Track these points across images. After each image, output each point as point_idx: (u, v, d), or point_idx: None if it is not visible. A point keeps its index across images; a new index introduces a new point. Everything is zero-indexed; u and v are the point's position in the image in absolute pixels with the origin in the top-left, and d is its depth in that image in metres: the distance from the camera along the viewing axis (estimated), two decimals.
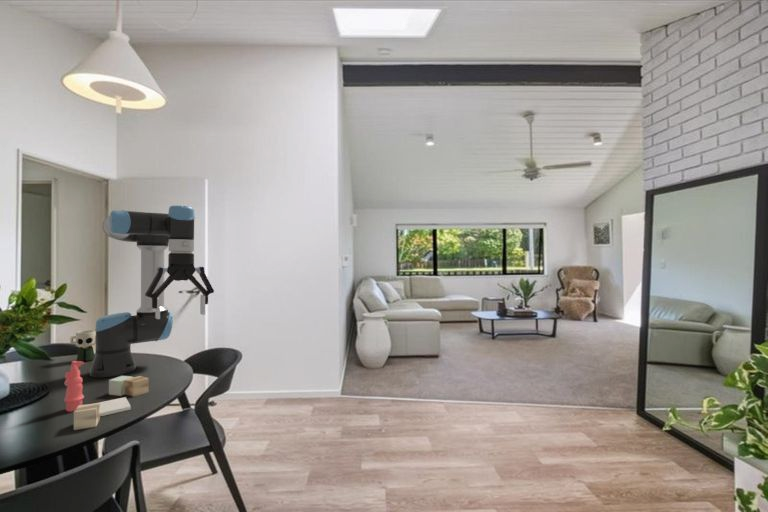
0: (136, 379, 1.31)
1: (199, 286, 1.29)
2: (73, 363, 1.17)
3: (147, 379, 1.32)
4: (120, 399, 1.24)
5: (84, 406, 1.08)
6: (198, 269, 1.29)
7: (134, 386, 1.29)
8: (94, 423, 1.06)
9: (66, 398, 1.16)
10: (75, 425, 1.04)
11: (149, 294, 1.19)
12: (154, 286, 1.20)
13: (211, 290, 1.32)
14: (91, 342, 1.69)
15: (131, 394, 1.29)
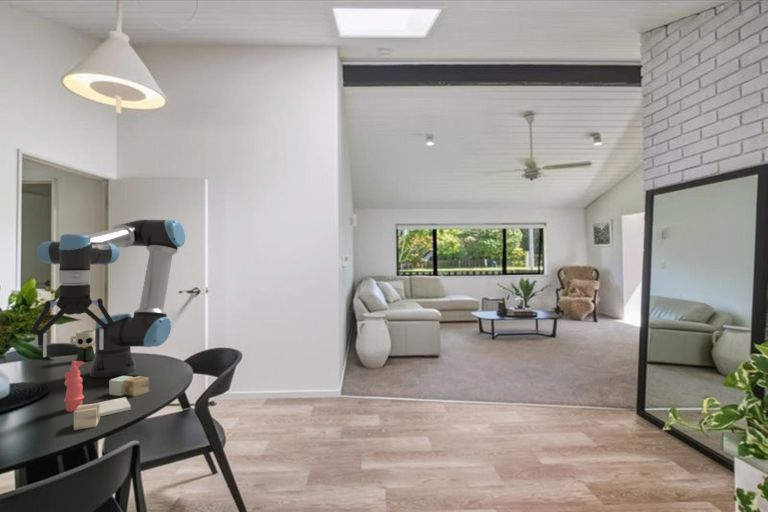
0: (137, 379, 1.31)
1: (96, 319, 1.20)
2: (73, 363, 1.17)
3: (147, 379, 1.33)
4: (120, 399, 1.24)
5: (85, 406, 1.08)
6: (95, 301, 1.21)
7: (135, 386, 1.29)
8: (94, 423, 1.06)
9: (66, 398, 1.16)
10: (75, 425, 1.04)
11: (33, 331, 1.11)
12: (39, 322, 1.11)
13: (111, 323, 1.23)
14: (91, 342, 1.69)
15: (131, 394, 1.29)
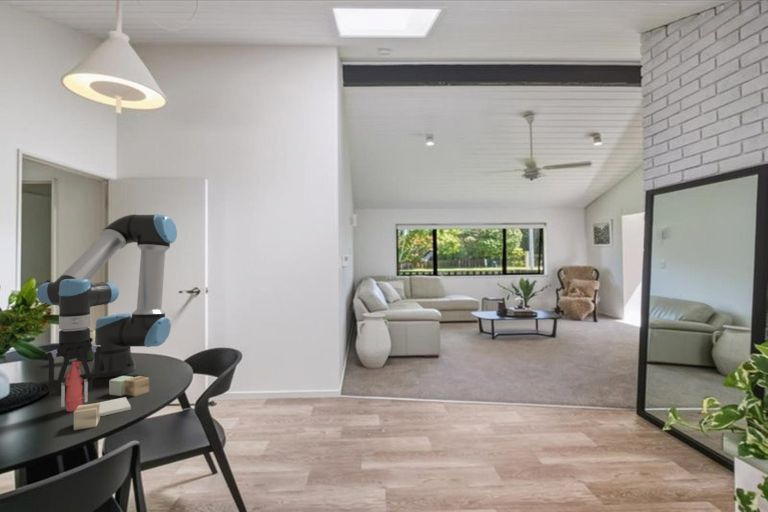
0: (137, 379, 1.31)
1: (85, 368, 1.19)
2: (73, 363, 1.17)
3: (147, 379, 1.33)
4: (120, 399, 1.24)
5: (84, 406, 1.08)
6: (95, 347, 1.21)
7: (135, 386, 1.29)
8: (94, 423, 1.06)
9: (66, 398, 1.16)
10: (75, 425, 1.04)
11: (51, 382, 1.13)
12: (52, 373, 1.14)
13: (96, 374, 1.21)
14: (91, 342, 1.69)
15: (132, 394, 1.29)
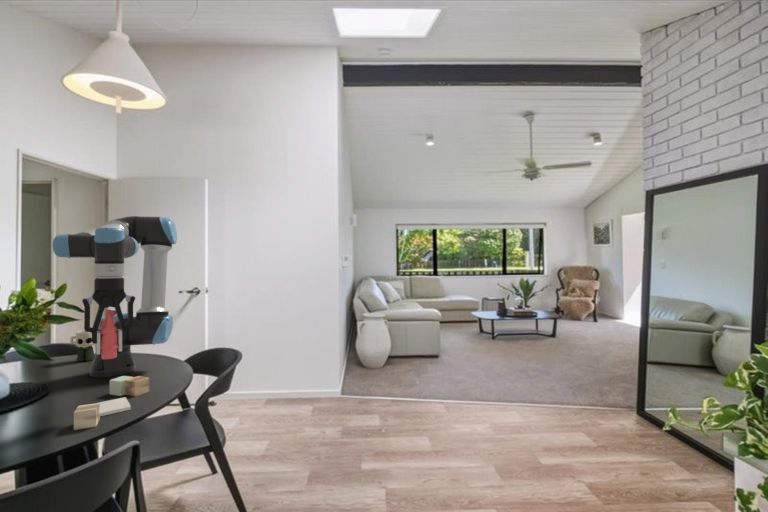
0: (137, 379, 1.31)
1: (120, 317, 1.19)
2: (108, 311, 1.17)
3: (148, 379, 1.33)
4: (120, 399, 1.24)
5: (85, 406, 1.08)
6: (128, 297, 1.21)
7: (136, 386, 1.29)
8: (94, 423, 1.06)
9: (101, 346, 1.16)
10: (75, 425, 1.04)
11: (87, 329, 1.13)
12: (88, 319, 1.14)
13: (130, 324, 1.21)
14: (91, 342, 1.69)
15: (132, 394, 1.29)
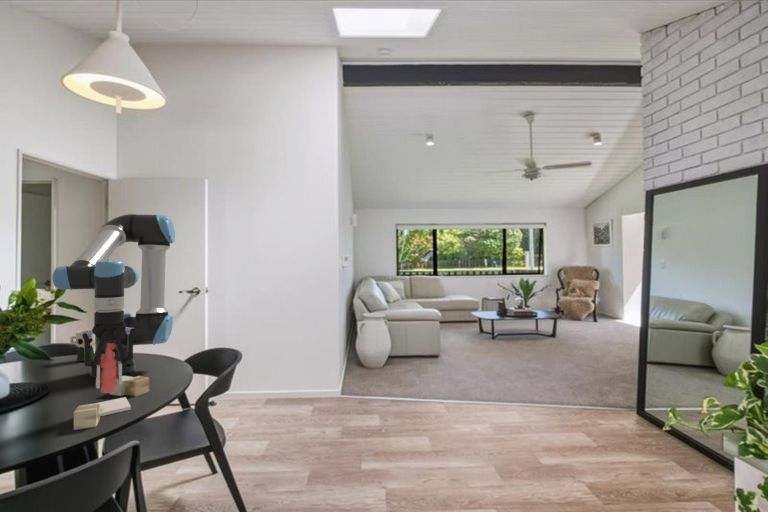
0: (137, 379, 1.31)
1: (120, 350, 1.19)
2: (108, 345, 1.17)
3: (148, 378, 1.33)
4: (120, 399, 1.24)
5: (85, 406, 1.08)
6: (128, 330, 1.21)
7: (136, 386, 1.29)
8: (94, 423, 1.06)
9: (101, 379, 1.16)
10: (75, 425, 1.04)
11: (87, 363, 1.14)
12: (88, 354, 1.14)
13: (130, 356, 1.21)
14: (91, 342, 1.69)
15: (132, 394, 1.29)
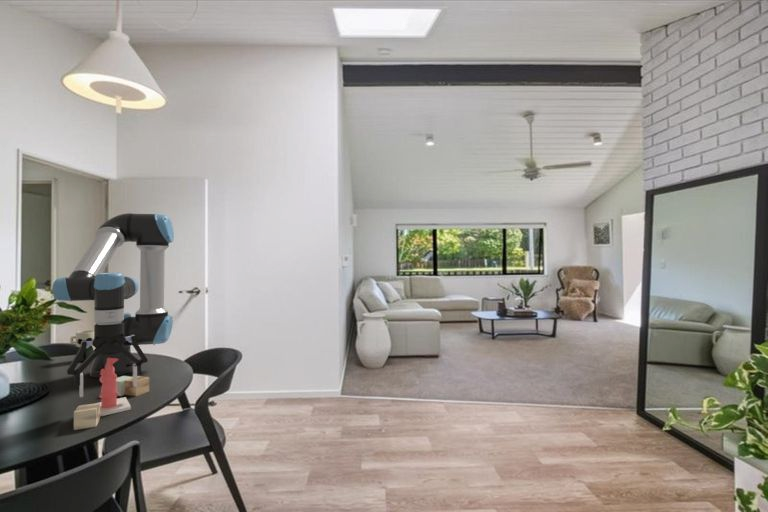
0: (137, 379, 1.31)
1: (130, 357, 1.21)
2: (108, 360, 1.18)
3: (148, 378, 1.33)
4: (120, 399, 1.24)
5: (85, 406, 1.08)
6: (129, 338, 1.21)
7: (137, 385, 1.29)
8: (94, 423, 1.06)
9: (101, 395, 1.16)
10: (75, 425, 1.04)
11: (70, 371, 1.11)
12: (76, 362, 1.12)
13: (144, 359, 1.24)
14: None
15: (133, 394, 1.29)
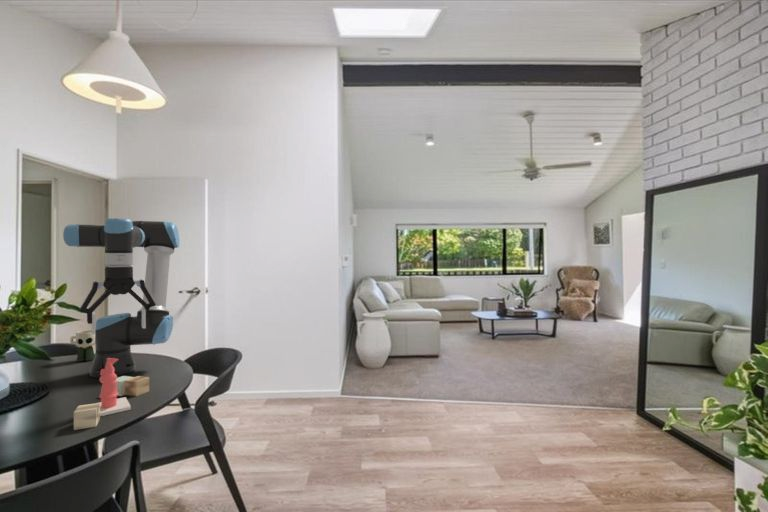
0: (137, 379, 1.31)
1: (139, 300, 1.27)
2: (108, 360, 1.18)
3: (148, 378, 1.33)
4: (120, 399, 1.24)
5: (84, 406, 1.08)
6: (138, 282, 1.27)
7: (137, 385, 1.29)
8: (94, 423, 1.06)
9: (101, 395, 1.16)
10: (75, 425, 1.04)
11: (83, 309, 1.17)
12: (88, 301, 1.18)
13: (152, 303, 1.29)
14: (91, 342, 1.69)
15: (133, 394, 1.29)
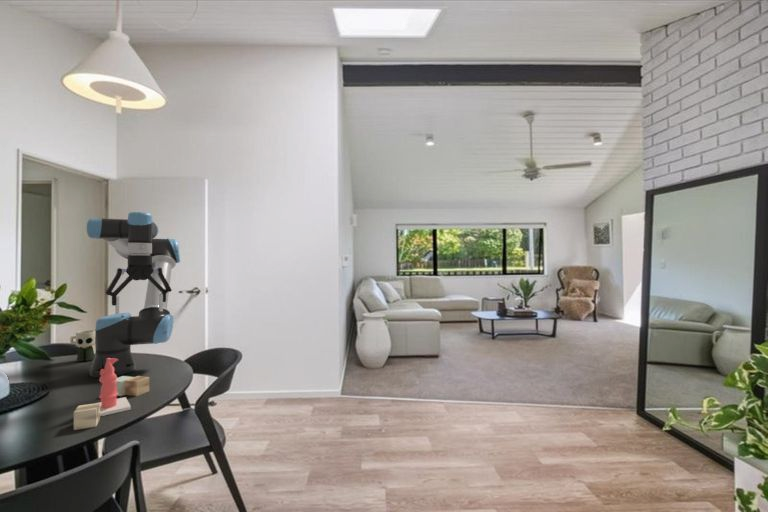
0: (137, 379, 1.32)
1: (157, 285, 1.41)
2: (108, 360, 1.17)
3: (148, 378, 1.33)
4: (120, 399, 1.24)
5: (84, 406, 1.08)
6: (156, 270, 1.42)
7: (137, 385, 1.29)
8: (94, 423, 1.06)
9: (101, 395, 1.16)
10: (75, 425, 1.04)
11: (108, 292, 1.32)
12: (113, 285, 1.32)
13: (169, 289, 1.44)
14: (91, 342, 1.69)
15: (133, 394, 1.29)
